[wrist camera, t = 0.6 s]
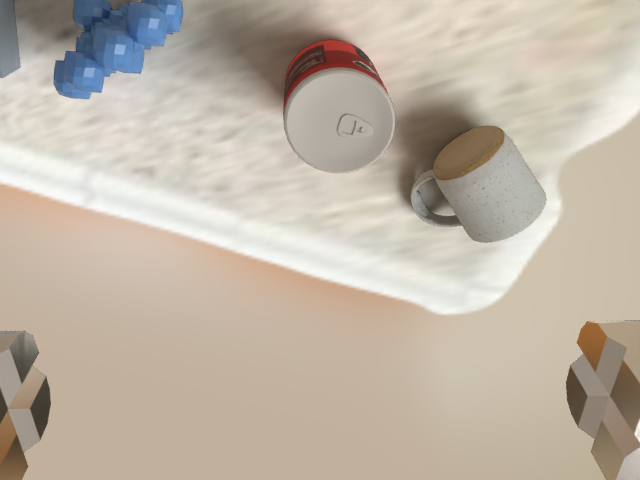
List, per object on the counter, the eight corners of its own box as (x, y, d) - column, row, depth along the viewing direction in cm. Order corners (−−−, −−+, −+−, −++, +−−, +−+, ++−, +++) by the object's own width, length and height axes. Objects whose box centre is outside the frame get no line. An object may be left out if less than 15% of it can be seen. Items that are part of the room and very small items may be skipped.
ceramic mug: (489, 108, 53) (515, 139, 46) (530, 175, 57) (561, 212, 50) (390, 175, 56) (402, 212, 49) (435, 234, 60) (452, 277, 53)
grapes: (157, -64, 45) (116, -54, 35) (212, 14, 48) (190, 45, 38) (46, 25, 48) (-22, 58, 38) (105, 93, 51) (56, 142, 41)
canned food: (375, 124, 53) (394, 173, 44) (286, 127, 53) (285, 176, 44) (378, 36, 50) (399, 68, 40) (282, 38, 49) (280, 70, 40)
